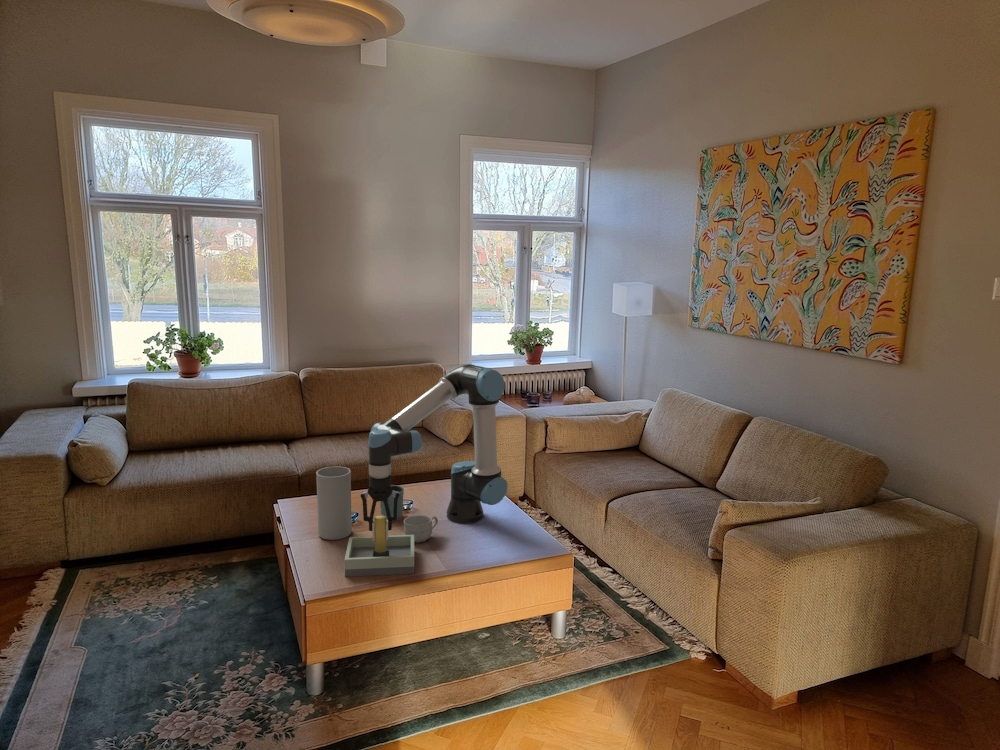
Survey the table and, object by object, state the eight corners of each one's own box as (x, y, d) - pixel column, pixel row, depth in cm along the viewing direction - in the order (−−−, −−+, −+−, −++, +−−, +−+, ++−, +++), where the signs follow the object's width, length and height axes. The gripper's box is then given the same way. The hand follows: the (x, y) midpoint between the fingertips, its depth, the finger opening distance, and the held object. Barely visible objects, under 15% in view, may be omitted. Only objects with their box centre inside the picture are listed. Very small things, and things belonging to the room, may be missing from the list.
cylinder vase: (343, 542, 248) (341, 478, 244) (312, 538, 251) (310, 475, 246) (357, 529, 260) (355, 467, 256) (327, 526, 263) (325, 465, 258)
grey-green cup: (401, 511, 279) (401, 483, 277) (406, 520, 270) (406, 492, 268) (377, 513, 276) (377, 486, 274) (381, 523, 267) (380, 494, 264)
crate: (414, 550, 243) (414, 534, 242) (414, 573, 225) (414, 556, 224) (349, 552, 240) (349, 537, 239) (344, 576, 222) (344, 559, 221)
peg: (386, 552, 232) (386, 519, 229) (374, 552, 231) (374, 520, 229) (386, 547, 235) (386, 515, 233) (375, 547, 235) (374, 515, 233)
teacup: (409, 547, 245) (409, 527, 244) (399, 536, 255) (399, 516, 253) (444, 540, 251) (444, 520, 250) (433, 530, 261) (433, 510, 259)
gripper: (405, 470, 233) (405, 533, 237) (355, 471, 231) (356, 535, 235) (404, 477, 226) (405, 542, 230) (353, 478, 224) (354, 544, 228)
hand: (380, 538), depth 232 cm, fingers closed on peg, 4 cm apart
